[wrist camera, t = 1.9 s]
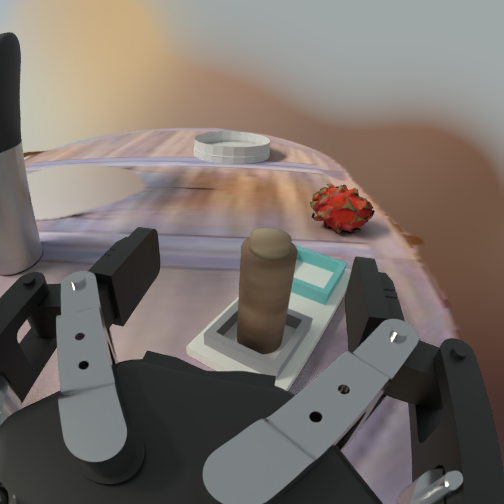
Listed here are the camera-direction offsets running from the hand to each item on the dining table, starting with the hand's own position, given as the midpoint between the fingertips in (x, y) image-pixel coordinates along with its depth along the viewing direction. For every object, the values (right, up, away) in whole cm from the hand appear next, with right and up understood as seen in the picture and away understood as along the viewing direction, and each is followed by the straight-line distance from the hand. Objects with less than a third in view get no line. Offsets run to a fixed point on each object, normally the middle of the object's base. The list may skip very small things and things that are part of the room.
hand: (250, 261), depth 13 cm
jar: (+1, -8, +18) cm, 20 cm away
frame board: (+4, -6, +23) cm, 24 cm away
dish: (-6, +29, +80) cm, 85 cm away
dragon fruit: (+15, +4, +42) cm, 45 cm away
